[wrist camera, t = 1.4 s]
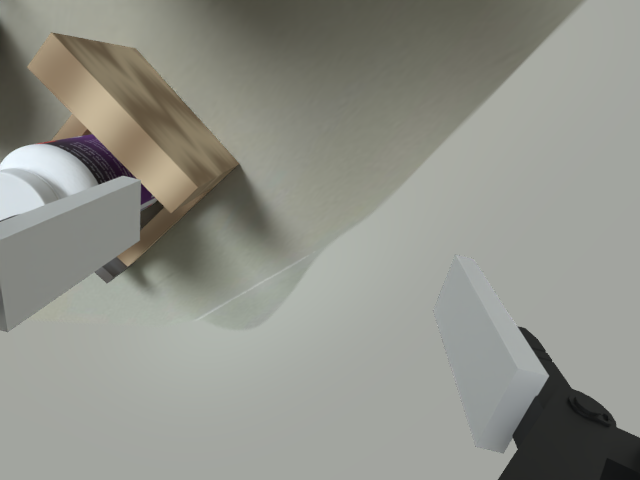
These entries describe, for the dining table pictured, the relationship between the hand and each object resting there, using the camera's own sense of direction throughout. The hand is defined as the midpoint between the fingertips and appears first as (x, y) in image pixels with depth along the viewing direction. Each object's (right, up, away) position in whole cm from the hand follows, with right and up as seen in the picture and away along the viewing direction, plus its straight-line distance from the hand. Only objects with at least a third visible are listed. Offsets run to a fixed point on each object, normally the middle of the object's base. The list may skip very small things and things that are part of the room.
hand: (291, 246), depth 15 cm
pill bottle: (-18, +8, +23) cm, 31 cm away
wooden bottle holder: (-18, +7, +23) cm, 30 cm away
